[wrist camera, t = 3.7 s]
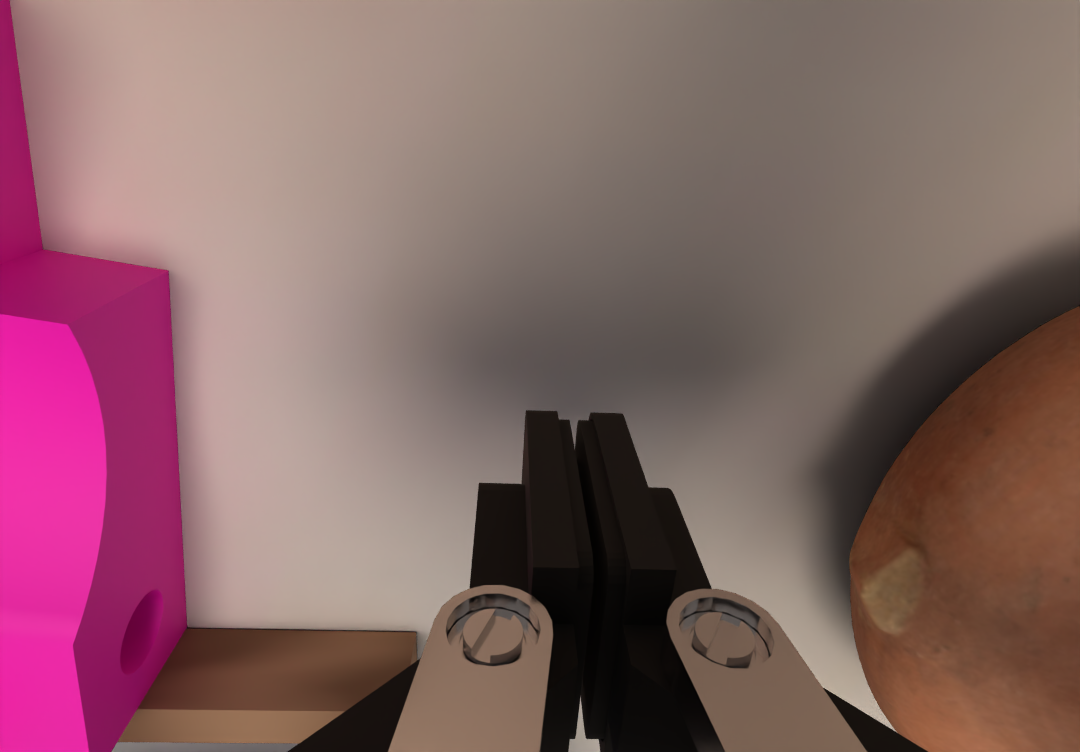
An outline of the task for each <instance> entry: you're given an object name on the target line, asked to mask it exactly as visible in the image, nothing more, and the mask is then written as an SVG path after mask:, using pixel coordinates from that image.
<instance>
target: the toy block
mask: <svg viewBox="0 0 1080 752" xmlns="http://www.w3.org/2000/svg"><path fill="white" fill-rule="evenodd" d="M186 628H187V616H186V597H185V578H184V559H183V539H182V520H181V501H180V482H179V462H178V443H177V424H176V405H175V385H174V366H173V347H172V328H171V309H170V289H169V271H168V270H162V269H156V268H150V267H144V266H138V265H132V264H126V263H120V262H114V261H109V260H103V259H97V258H91V257H85V256H79V255H73V254H67V253H61V252H55V251H49V250H43V247H42V239H41V232H40V224H39V217H38V209H37V202H36V195H35V187H34V180H33V172H32V165H31V157H30V150H29V142H28V135H27V128H26V120H25V113H24V105H23V98H22V90H21V83H20V75H19V68H18V60H17V53H16V46H15V38H14V31H13V23H12V16H11V8H10V1H9V0H0V752H111V751H112V750H113V748H114V746H115V745H116V743H117V741H118V740H119V738H120V736H121V735H122V733H123V732H124V730H125V728H126V727H127V725H128V723H129V722H130V720H131V718H132V717H133V715H134V713H135V712H136V710H137V709H138V707H139V705H140V704H141V702H142V700H143V699H144V697H145V695H146V694H147V692H148V690H149V689H150V687H151V685H152V684H153V682H154V681H155V679H156V677H157V676H158V674H159V672H160V671H161V669H162V667H163V666H164V664H165V662H166V661H167V659H168V657H169V656H170V654H171V653H172V651H173V649H174V648H175V646H176V644H177V643H178V641H179V639H180V638H181V636H182V634H183V633H184V631H185V629H186Z"/></svg>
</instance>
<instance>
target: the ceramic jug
mask: <svg viewBox="0 0 1080 752" xmlns="http://www.w3.org/2000/svg"><path fill="white" fill-rule="evenodd" d="M849 561H850V563H849V570H850V574H851V586H850V598H851V599H850V603H851V616H852V626H853V631H854V638H855V642H856V647H857V651H858V655H859V659H860V662H861V665H862V669H863V671H864V674H865V677H866V680H867V683H868V685H869V687H870V689H871V691H872V693H873V696H874V698H875V700H876V701H877V703H878V705H879V707H880V709H881V710H882V712H883V713H884V715H885V716H886V718H887V719H888V721H889V722H890V723H891V725H892V726H893V728H894V729H895V730H896V731H897V733H898V734H900V735H902V736H903V737H905V738H907V739H908V740H910V741H912V742H913V743H915V744H916V745H918V746H920V747H921V748H923V749H925V750H926V751H928V752H1080V306H1079V307H1076V308H1074V309H1072V310H1070V311H1068V312H1065V313H1064V314H1062V315H1060V316H1058V317H1056V318H1054V319H1052V320H1050V321H1048V322H1047V323H1045V324H1043V325H1042V326H1040V327H1038V328H1037V329H1035V330H1033V331H1032V332H1030V333H1029V334H1027V335H1025V336H1024V337H1022V338H1021V339H1019V340H1018V341H1016V342H1015V343H1014V344H1012V345H1011V346H1009V347H1008V348H1006V349H1005V350H1003V351H1002V352H1000V353H999V354H998V355H996V356H995V357H994V358H993V359H991V360H990V361H989V362H987V363H986V364H985V365H983V366H982V367H981V368H980V369H979V370H978V371H976V372H975V373H974V374H972V375H971V376H970V377H969V378H968V379H967V380H966V381H965V382H963V383H962V384H961V385H960V386H959V387H958V388H957V389H956V390H955V391H954V392H953V393H952V394H951V395H950V396H949V397H948V398H947V399H946V400H945V401H944V402H943V403H942V404H941V405H940V406H939V407H938V408H937V409H936V410H935V411H934V412H933V413H932V414H931V415H930V416H929V417H928V418H927V420H926V421H925V422H924V423H923V424H922V426H921V427H920V428H919V429H918V430H917V432H916V433H915V434H914V436H913V437H912V438H911V439H910V441H909V442H908V443H907V445H906V446H905V448H904V449H903V450H902V452H901V453H900V454H899V455H898V457H897V458H896V460H895V462H894V463H893V465H892V466H891V468H890V469H889V470H888V472H887V473H886V476H885V477H884V479H883V481H882V482H881V485H880V486H879V488H878V490H877V492H876V494H875V496H874V498H873V500H872V502H871V504H870V506H869V508H868V510H867V512H866V514H865V516H864V519H863V521H862V523H861V525H860V527H859V530H858V532H857V535H856V537H855V540H854V543H853V546H852V549H851V551H850V557H849Z"/></svg>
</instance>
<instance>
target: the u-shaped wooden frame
mask: <svg viewBox="0 0 1080 752" xmlns="http://www.w3.org/2000/svg"><path fill="white" fill-rule="evenodd" d="M416 661H417V642H416V632H362V631H302V630H243V629H185V631H184V633H183V634H182V636H181V638H180V639H179V641H178V643H177V644H176V646H175V648H174V649H173V651H172V653H171V654H170V656H169V657H168V659H167V661H166V662H165V664H164V666H163V667H162V669H161V671H160V672H159V674H158V676H157V677H156V679H155V681H154V682H153V684H152V685H151V687H150V689H149V690H148V692H147V694H146V695H145V697H144V699H143V700H142V702H141V704H140V705H139V707H138V709H137V710H136V712H135V713H134V715H133V717H132V718H131V720H130V722H129V723H128V725H127V727H126V728H125V730H124V732H123V733H122V735H121V736H120V738H119V740H118V741H117V742H188V743H301V742H302V741H304V740H305V739H306V738H308V737H309V736H311V735H312V734H314V733H315V732H316V731H318V730H319V729H321V728H322V727H323V726H325V725H326V724H328V723H329V722H331V721H332V720H333V719H335V718H336V717H338V716H339V715H341V714H342V713H343V712H345V711H346V710H348V709H349V708H351V707H352V706H353V705H355V704H356V703H358V702H359V701H360V700H362V699H363V698H365V697H366V696H368V695H369V694H370V693H372V692H373V691H375V690H376V689H378V688H379V687H380V686H382V685H383V684H385V683H386V682H388V681H389V680H390V679H392V678H393V677H395V676H396V675H397V674H399V673H400V672H402V671H403V670H405V669H406V668H407V667H409V666H410V665H412V664H413V663H415V662H416Z"/></svg>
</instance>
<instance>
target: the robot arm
mask: <svg viewBox="0 0 1080 752" xmlns="http://www.w3.org/2000/svg"><path fill="white" fill-rule="evenodd" d="M580 695H581V703H582V712H583V721H584V730H585V735H586V738H587V739H599V744H600V752H928V751H926V750H925V749H923V748H921V747H920V746H918V745H916V744H915V743H913V742H912V741H910V740H908V739H907V738H905V737H903V736H902V735H900V734H898V733H897V732H895V731H893V730H892V729H890V728H889V727H887V726H885V725H884V724H882V723H880V722H879V721H877V720H875V719H874V718H872V717H870V716H869V715H867V714H866V713H864V712H862V711H861V710H859V709H857V708H856V707H854V706H852V705H851V704H849V703H848V702H846V701H844V700H843V699H841V698H839V697H838V696H836V695H834V694H833V693H831V692H829V691H828V690H826V689H825V688H823V687H822V686H821V684H820V683H819V682H818V680H817V679H816V677H815V676H814V674H813V673H812V671H811V670H810V669H809V667H808V666H807V664H806V663H805V661H804V660H803V658H802V657H801V656H800V654H799V653H798V651H797V650H796V648H795V647H794V645H793V644H792V643H791V641H790V640H789V638H788V637H787V635H786V634H785V632H784V631H783V629H782V628H781V627H780V625H779V624H778V623H777V622H776V621H775V619H774V618H773V617H772V616H771V615H770V614H769V613H768V612H767V611H766V610H764V609H763V608H762V607H760V606H759V605H757V604H756V603H755V602H753V601H751V600H749V599H747V598H745V597H743V596H740V595H738V594H736V593H732V592H728V591H724V590H719V589H712V588H711V586H710V583H709V581H708V578H707V576H706V573H705V571H704V568H703V566H702V563H701V561H700V558H699V556H698V553H697V551H696V548H695V546H694V543H693V541H692V538H691V536H690V533H689V531H688V528H687V526H686V523H685V521H684V518H683V516H682V513H681V511H680V508H679V506H678V503H677V501H676V498H675V496H674V494H673V492H672V490H671V489H669V488H649V487H648V485H647V482H646V479H645V476H644V473H643V470H642V468H641V465H640V462H639V459H638V456H637V453H636V450H635V447H634V444H633V441H632V438H631V436H630V433H629V430H628V427H627V424H626V421H625V418H624V415H623V414H619V413H590V416H589V421H587V420H579V421H578V424H577V433H576V444H575V449H574V443H573V437H572V431H571V426H570V421H569V420H559V418H558V412H557V411H531V410H526V415H525V432H524V450H523V469H522V484H502V483H479V489H478V500H477V511H476V523H475V534H474V545H473V556H472V568H471V579H470V589H467V590H465V591H463V592H461V593H459V594H457V595H455V596H453V597H452V598H451V599H450V600H449V601H448V602H446V603H445V604H444V605H443V606H442V607H441V609H440V611H439V613H438V614H437V616H436V618H435V619H434V622H433V625H432V628H431V631H430V634H429V637H428V639H427V642H426V645H425V648H424V651H423V654H422V656H421V658H420V659H419V660H417V661H416V662H415V663H413V664H412V665H410V666H409V667H407V668H406V669H405V670H403V671H402V672H400V673H399V674H397V675H396V676H395V677H393V678H392V679H390V680H389V681H388V682H386V683H385V684H383V685H382V686H380V687H379V688H378V689H376V690H375V691H373V692H372V693H370V694H369V695H368V696H366V697H365V698H363V699H362V700H360V701H359V702H358V703H356V704H355V705H353V706H352V707H351V708H349V709H348V710H346V711H345V712H343V713H342V714H341V715H339V716H338V717H336V718H335V719H333V720H332V721H331V722H329V723H328V724H326V725H325V726H323V727H322V728H321V729H319V730H318V731H316V732H315V733H314V734H312V735H311V736H309V737H308V738H306V739H305V740H304V741H302V742H301V743H299V744H298V745H296V746H295V747H294V748H292V749H291V750H289V751H288V752H568V749H569V740H570V739H575V736H576V729H577V721H578V712H579V704H580Z"/></svg>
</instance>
